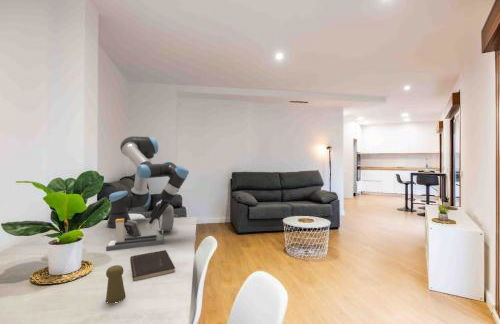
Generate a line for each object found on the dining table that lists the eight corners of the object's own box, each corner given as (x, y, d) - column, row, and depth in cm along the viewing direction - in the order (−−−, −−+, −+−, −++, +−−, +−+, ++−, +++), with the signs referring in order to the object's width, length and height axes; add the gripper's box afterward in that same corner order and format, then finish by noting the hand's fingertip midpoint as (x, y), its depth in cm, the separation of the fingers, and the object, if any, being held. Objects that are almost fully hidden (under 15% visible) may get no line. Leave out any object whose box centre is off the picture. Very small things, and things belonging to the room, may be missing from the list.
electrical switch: (141, 235, 157) (139, 220, 156) (133, 238, 153) (131, 223, 152) (132, 233, 162) (130, 218, 161) (124, 236, 158) (122, 221, 157)
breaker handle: (117, 241, 140) (116, 219, 139) (125, 240, 141) (124, 218, 141) (116, 243, 136) (115, 220, 136) (123, 242, 138) (123, 219, 137)
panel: (110, 244, 142) (110, 239, 142) (163, 238, 150) (163, 233, 150) (106, 250, 132) (106, 245, 132) (163, 244, 141) (163, 238, 141)
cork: (127, 299, 87) (126, 267, 87) (106, 306, 83) (105, 272, 83) (124, 292, 92) (122, 261, 92) (104, 297, 88) (103, 266, 88)
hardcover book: (166, 254, 127) (165, 249, 127) (175, 273, 107) (175, 267, 107) (130, 261, 120) (130, 256, 120) (133, 282, 100) (132, 276, 100)
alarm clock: (156, 229, 169) (155, 196, 169) (170, 227, 173) (169, 194, 172) (160, 236, 155) (159, 199, 154) (175, 233, 159) (174, 198, 158)
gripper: (169, 195, 137) (146, 233, 137) (180, 195, 150) (159, 230, 149) (158, 188, 138) (136, 226, 138) (170, 188, 151) (149, 223, 151)
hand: (148, 228), depth 144 cm, fingers closed
